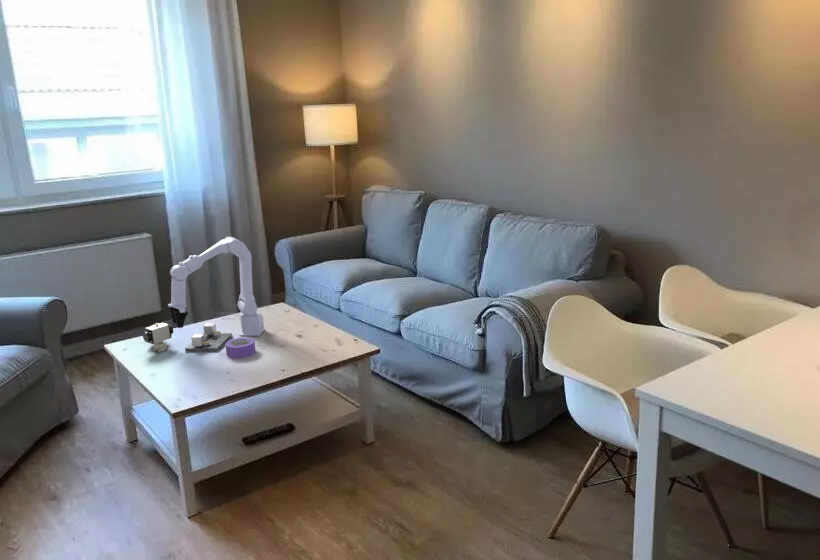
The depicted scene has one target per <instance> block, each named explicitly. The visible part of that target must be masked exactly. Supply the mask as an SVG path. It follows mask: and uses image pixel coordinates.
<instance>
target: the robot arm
mask: <svg viewBox="0 0 820 560" xmlns="http://www.w3.org/2000/svg"><path fill="white" fill-rule="evenodd" d="M229 252H230V253H231V254H232V255H235V256H236V257H238V261H239V262H238V263H239V265H238V266H239V283H240V285H239V286H240V294H239V296H238V301H237V308H238V310H239V311H240V312H239V317H240V319H239V320H240V326H241V332H240V333H239V334H238V336H240V337H243V336H244V337H247V336H251V337H252V336H255V337H256V336H260V335H262V334H263V333H264V331H265V330H266V328H265V325H264V318H263V314H262V313H258V312H257V311H258V305H257V303H256V299H255V296H254V291H253V269H252V268H253V265H252V264H253V263H252V262H253V261H252V254H251V253H252V252H250V250H249V249H248V247H247V246H246V244H245V243H244V242H243V241H241V240H239V239H237V238H235V236H234V237H233V236H226V237H225V238H223V239H220V240H219V241H218V242H217V243H215V244H214V245H212V246H211V247H209V248H208V249H206V250H205V251H204V252H202V253H200V254H198V255H197V254H194V255H189V256H188V258H187V259H185V260H183V261H180V262H179V263H178V264H176V265H173V266H172V267H171V268H170V271H169V274H170V276H171V285H170V288H171V290H170V297H171V298H170V303H168V304H167V306H168V307H167V308H168V309H169V311H170V315H171V321H172V323H173V324H176V327H177V328H178V329H181V328H183V327H184V324H185V322H186V321H185V320H186V318H187V316H188V315H189V311H186V306H187V305H186V290H187V289H186V288H187V285H186V284H187V283H186V281H187V280H186V279H187V278H188V276H189V275H191V274H192V273H193V272H195V271H197V270H198V269H200V268H202V267H203V264H204V262H206V261H208V260H210V259H211V258H214V257H215V256H217V255H219V254H229Z"/></svg>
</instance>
